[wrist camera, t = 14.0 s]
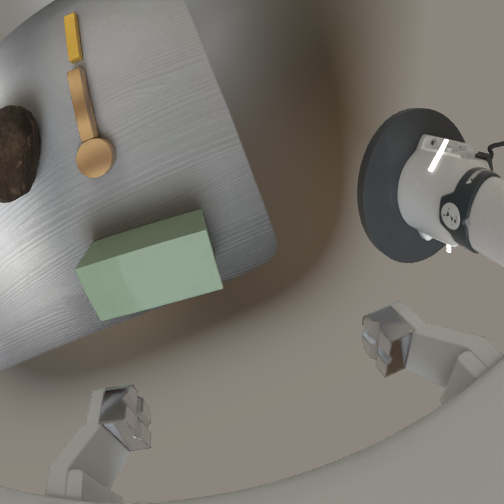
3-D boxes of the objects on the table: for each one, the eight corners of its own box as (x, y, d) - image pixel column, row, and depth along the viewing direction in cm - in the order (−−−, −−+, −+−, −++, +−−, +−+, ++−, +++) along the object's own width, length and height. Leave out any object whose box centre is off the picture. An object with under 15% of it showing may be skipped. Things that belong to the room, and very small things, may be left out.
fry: (77, 15, 22) (74, 12, 21) (83, 59, 25) (79, 56, 24) (67, 19, 22) (63, 16, 21) (73, 63, 25) (69, 61, 24)
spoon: (63, 80, 26) (55, 77, 23) (96, 65, 26) (90, 61, 24) (87, 180, 32) (81, 183, 29) (120, 167, 32) (116, 170, 30)
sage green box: (201, 208, 36) (206, 229, 29) (215, 258, 39) (223, 288, 32) (93, 241, 35) (74, 269, 28) (112, 287, 38) (100, 321, 31)
